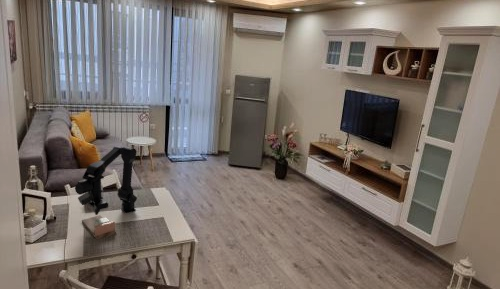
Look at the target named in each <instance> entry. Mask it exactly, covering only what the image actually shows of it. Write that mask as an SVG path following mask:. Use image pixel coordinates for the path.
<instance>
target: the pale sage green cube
mask: <svg viewBox="0 0 500 289" xmlns="http://www.w3.org/2000/svg"><path fill="white" fill-rule="evenodd" d="M107 222H111V221H110V220H109V219H108V218H107V217H102V218H101V219H97V220H94V223H95V226H97V225H100V224H104V223H107Z"/></svg>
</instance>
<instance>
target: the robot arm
mask: <svg viewBox="0 0 500 289" xmlns="http://www.w3.org/2000/svg"><path fill="white" fill-rule="evenodd" d="M119 156H120V157H121V160H122V162H123V167H122V180H121V181H122V182H121V186H120V187H119V188H118V189H117V197H118V198H119V200H120V201H121V210H122V212H124V213H126V214H127V213H131V212H134V211H136V210H137V209H136V208H135V203H136V202H137V200H138V197H137V196H136V195H135V194H134V189H133V187H132V176H133V162H134V161H135V160H136V158H137V149H136V148H134V147H131V146H127V145H125V146H119V145H114V147H113V148H112V149H111V150H110V151H108V152H107V153H106V154H105V155H104V156H103V157H102V158H100V159H99V160H98V161H95V162H92V163H91V164H89V165H88V166H87V167H86V170H85V171H84V174H83V175H82V180H79V181H77V184H75V186H74V189H75V193H76V194H78V195H80V196H78V197H77V200H78V202H79V204H81V206H85V205H87V204H89V205H90V206H91V207H92V208H93V212H94V215H95V216H99V213H100V211H101V210H103V209H107V208H109V203H108V202H107V201H106V200H104V196H103V197H102V193H101V192H103V193H104V189H103V190H102V189H101V183H102V180H103V179H104V178H105V176H103V174H104V173H105V172H106V169H107V167H108V166H109V165H110V164H111V163H112V162H114V161H115V160H116V159H117V158H118V157H119ZM86 192H87V193H86ZM101 199H103V200H101Z"/></svg>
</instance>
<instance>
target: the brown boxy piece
mask: <svg viewBox="0 0 500 289" xmlns="http://www.w3.org/2000/svg"><path fill="white" fill-rule="evenodd" d="M101 218H103V217H102V216H101V214H100V215H99V214H98V215H95V216H92V217H89V218H84V219H82V220H81V223H82V224H83V226H84V227H85V226H86V227H87V228H86V227H85V228H86V229H87V230H88V231H89V233H91V235H93V237H94V238H95V239H96V240H102V239H106V238H107V237H111V236H114V235H117V230H116V222H115V220H111V221H110V222H107V223H104V224H100V225H97V226H95V223H94V220H97V219H101Z"/></svg>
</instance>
